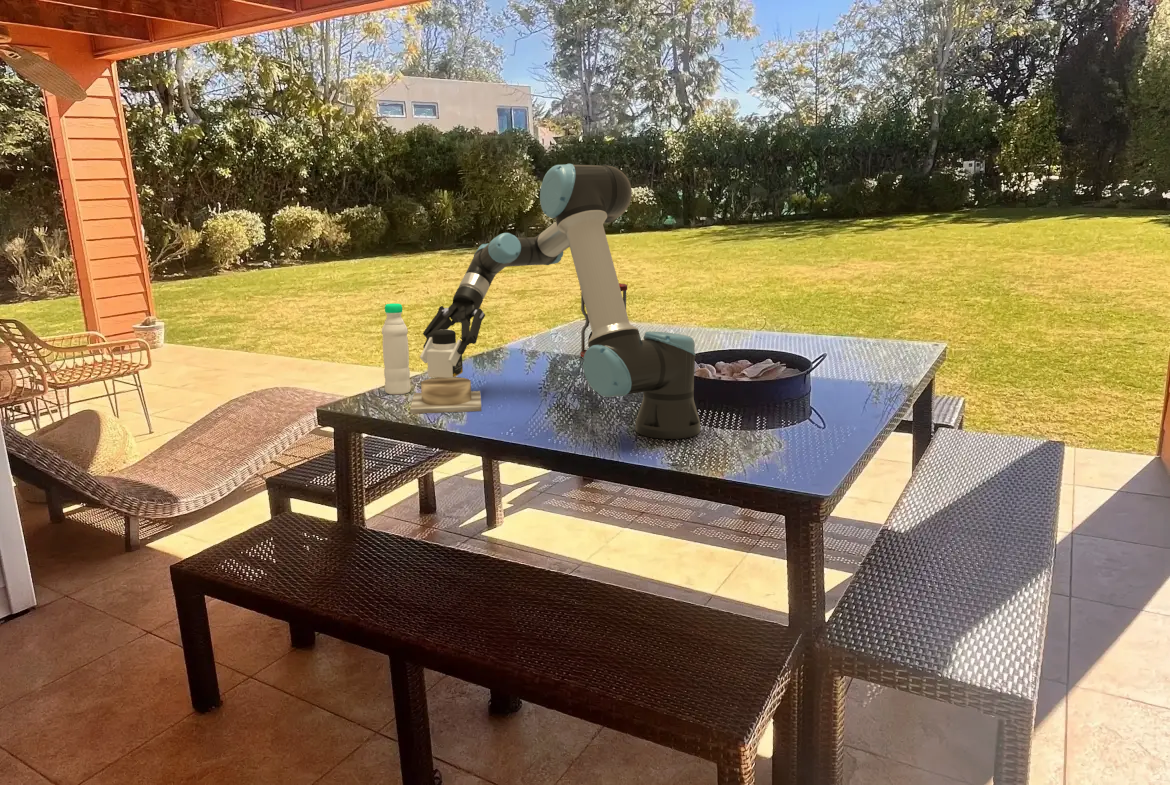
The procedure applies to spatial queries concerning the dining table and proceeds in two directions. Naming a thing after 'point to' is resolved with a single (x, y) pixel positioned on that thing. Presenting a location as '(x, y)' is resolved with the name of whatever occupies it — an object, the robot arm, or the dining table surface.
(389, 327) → the water bottle
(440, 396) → the post stand
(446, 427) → the dining table surface
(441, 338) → the medicine bottle
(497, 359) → the dining table surface
